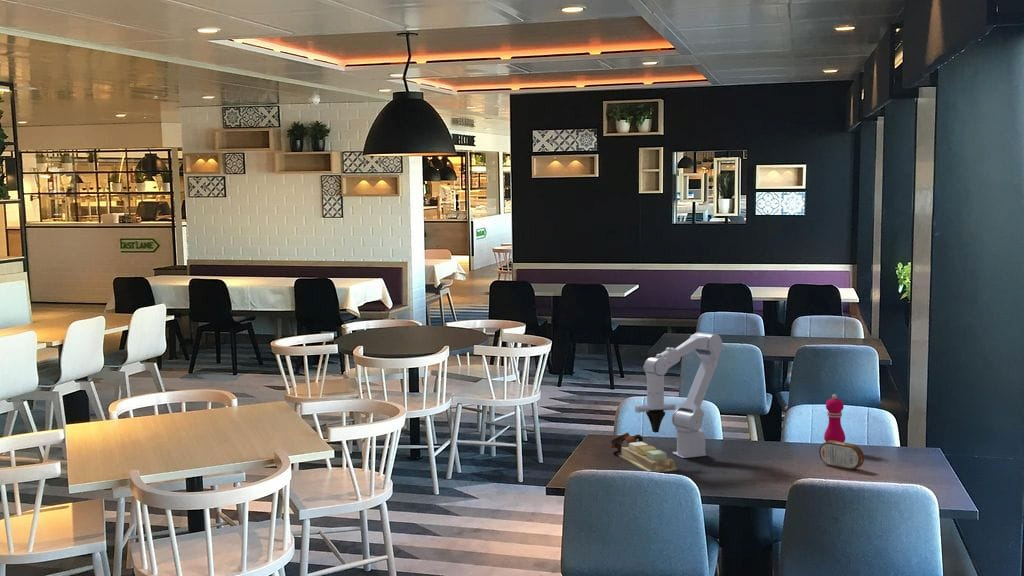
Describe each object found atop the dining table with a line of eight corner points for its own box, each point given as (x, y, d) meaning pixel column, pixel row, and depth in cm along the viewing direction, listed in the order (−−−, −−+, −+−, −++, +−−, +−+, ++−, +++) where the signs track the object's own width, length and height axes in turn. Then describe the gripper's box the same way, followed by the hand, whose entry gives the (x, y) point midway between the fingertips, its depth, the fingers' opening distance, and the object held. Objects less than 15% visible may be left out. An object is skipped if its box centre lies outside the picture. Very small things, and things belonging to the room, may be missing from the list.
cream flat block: (650, 452, 344) (650, 445, 344) (657, 455, 339) (657, 448, 339) (637, 454, 343) (637, 446, 342) (643, 457, 338) (643, 449, 338)
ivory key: (641, 448, 351) (641, 441, 351) (648, 451, 346) (648, 444, 346) (628, 450, 349) (628, 442, 349) (635, 453, 345) (634, 445, 344)
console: (645, 454, 354) (645, 444, 354) (677, 470, 331) (677, 460, 331) (619, 457, 351) (619, 447, 351) (649, 473, 328) (649, 463, 328)
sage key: (659, 457, 338) (659, 449, 337) (666, 460, 333) (666, 453, 333) (646, 458, 336) (646, 451, 336) (653, 462, 331) (653, 454, 331)
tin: (864, 470, 326) (864, 444, 325) (859, 472, 324) (859, 446, 323) (822, 462, 337) (822, 438, 336) (817, 464, 335) (817, 439, 334)
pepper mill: (822, 451, 353) (822, 395, 351) (826, 446, 359) (826, 391, 358) (843, 453, 350) (843, 396, 348) (847, 448, 356) (847, 393, 354)
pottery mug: (625, 459, 350) (614, 437, 352) (614, 465, 358) (604, 444, 360) (652, 446, 356) (641, 425, 357) (641, 452, 364) (630, 432, 366)
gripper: (641, 395, 336) (641, 435, 336) (680, 393, 340) (680, 432, 341) (632, 392, 342) (632, 431, 343) (670, 390, 347) (670, 428, 348)
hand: (655, 431), depth 343 cm, fingers closed
